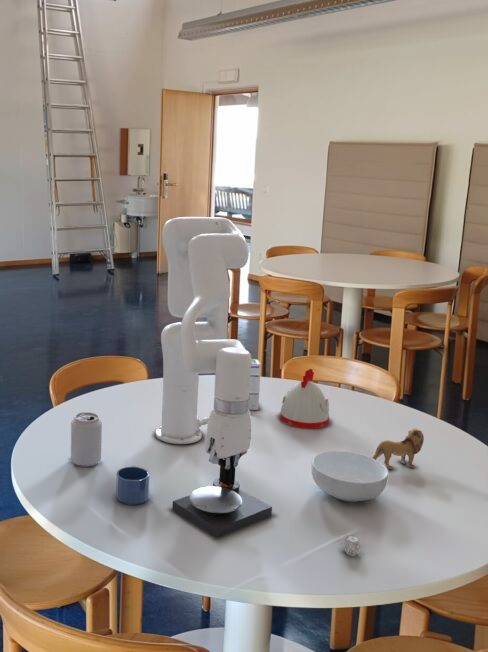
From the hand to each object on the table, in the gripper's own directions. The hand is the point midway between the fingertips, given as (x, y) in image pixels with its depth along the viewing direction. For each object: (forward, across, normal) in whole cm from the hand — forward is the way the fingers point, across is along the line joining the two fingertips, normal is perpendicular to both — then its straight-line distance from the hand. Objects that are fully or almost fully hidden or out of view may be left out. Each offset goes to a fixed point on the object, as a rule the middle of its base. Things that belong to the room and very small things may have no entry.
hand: (226, 482), depth 159 cm
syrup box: (+4, -48, -40) cm, 62 cm away
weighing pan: (0, +7, +4) cm, 9 cm away
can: (+4, +15, -34) cm, 37 cm away
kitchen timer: (+4, -54, -23) cm, 58 cm away
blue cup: (+4, +17, -12) cm, 21 cm away
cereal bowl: (+4, -25, +14) cm, 29 cm away
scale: (+4, +5, +4) cm, 8 cm away
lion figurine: (+4, -49, +11) cm, 50 cm away
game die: (+4, -5, +30) cm, 31 cm away
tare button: (+1, 0, 0) cm, 1 cm away
